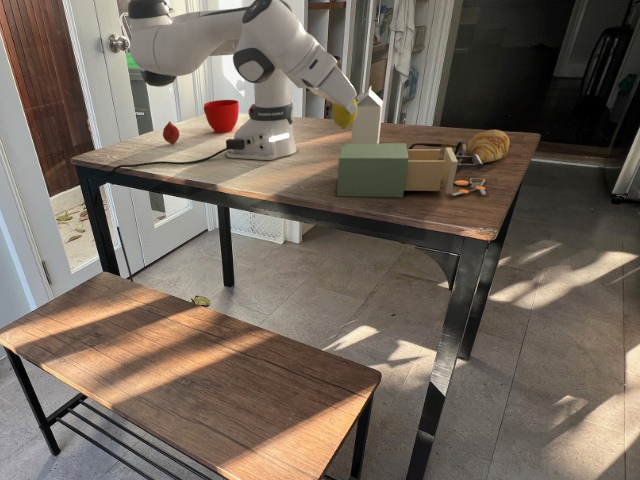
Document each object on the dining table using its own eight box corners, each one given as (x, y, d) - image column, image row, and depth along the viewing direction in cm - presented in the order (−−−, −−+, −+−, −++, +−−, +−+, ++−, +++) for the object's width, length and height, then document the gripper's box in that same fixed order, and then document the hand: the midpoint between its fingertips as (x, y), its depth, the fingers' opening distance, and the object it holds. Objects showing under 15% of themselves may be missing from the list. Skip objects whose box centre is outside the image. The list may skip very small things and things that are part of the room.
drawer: (470, 177, 106) (477, 147, 102) (478, 194, 97) (486, 161, 93) (386, 176, 111) (389, 147, 107) (386, 192, 102) (390, 161, 98)
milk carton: (377, 156, 128) (384, 85, 118) (375, 163, 123) (382, 90, 112) (352, 155, 130) (357, 86, 120) (349, 162, 125) (354, 90, 114)
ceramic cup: (219, 124, 178) (216, 97, 173) (247, 129, 168) (245, 101, 162) (194, 131, 172) (190, 103, 166) (221, 136, 161) (219, 107, 155)
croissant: (485, 180, 115) (508, 155, 109) (453, 159, 117) (474, 133, 111) (502, 156, 128) (523, 133, 122) (473, 137, 130) (492, 113, 124)
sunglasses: (404, 155, 127) (407, 137, 124) (462, 157, 122) (466, 139, 119) (399, 170, 117) (401, 151, 114) (461, 174, 111) (466, 154, 108)
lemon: (355, 131, 100) (358, 93, 95) (331, 132, 101) (332, 94, 96) (355, 125, 104) (358, 89, 100) (332, 126, 105) (333, 90, 101)
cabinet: (400, 179, 111) (405, 143, 106) (402, 197, 101) (408, 158, 96) (340, 179, 115) (342, 143, 110) (336, 195, 105) (338, 158, 100)
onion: (161, 146, 156) (157, 123, 151) (169, 142, 160) (166, 119, 155) (175, 147, 154) (172, 123, 149) (183, 142, 158) (180, 119, 153)
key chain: (456, 178, 108) (457, 175, 108) (489, 181, 105) (490, 177, 105) (448, 196, 99) (449, 192, 99) (484, 200, 96) (485, 196, 96)
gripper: (283, 72, 103) (321, 111, 109) (313, 84, 86) (356, 129, 93) (302, 49, 101) (339, 90, 107) (336, 56, 84) (377, 105, 91)
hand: (347, 108), depth 100 cm, fingers closed on lemon, 5 cm apart
